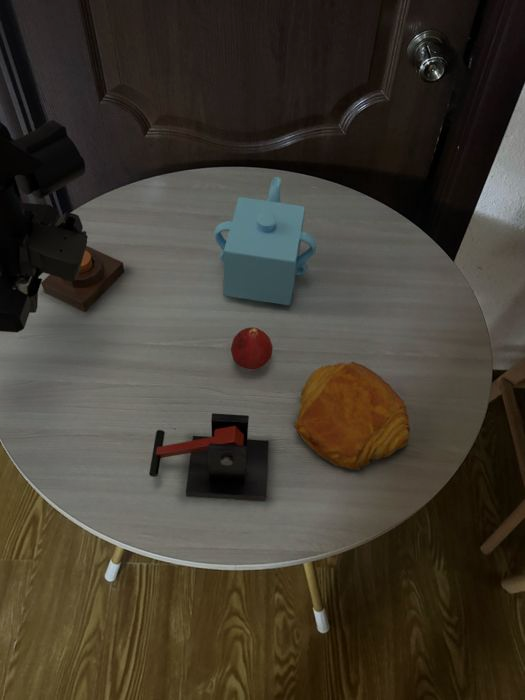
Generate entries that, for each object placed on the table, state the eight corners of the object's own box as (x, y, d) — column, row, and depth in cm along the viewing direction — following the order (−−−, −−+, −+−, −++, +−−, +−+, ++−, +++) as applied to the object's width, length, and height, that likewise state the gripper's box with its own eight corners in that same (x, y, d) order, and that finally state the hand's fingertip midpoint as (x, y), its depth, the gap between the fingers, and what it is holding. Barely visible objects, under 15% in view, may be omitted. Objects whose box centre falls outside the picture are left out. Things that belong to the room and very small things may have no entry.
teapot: (305, 314, 96) (315, 255, 86) (207, 299, 97) (205, 238, 87) (317, 236, 107) (327, 175, 97) (229, 223, 108) (229, 161, 97)
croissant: (342, 371, 93) (346, 333, 87) (424, 435, 84) (435, 398, 78) (270, 423, 86) (269, 385, 80) (351, 497, 78) (356, 461, 72)
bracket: (186, 496, 77) (181, 461, 70) (193, 439, 82) (189, 400, 74) (265, 501, 78) (270, 466, 70) (268, 444, 82) (272, 406, 74)
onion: (236, 383, 88) (237, 350, 81) (226, 352, 91) (226, 317, 85) (275, 376, 89) (279, 342, 83) (264, 345, 92) (267, 310, 86)
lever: (154, 479, 76) (144, 471, 74) (161, 436, 80) (152, 428, 78) (242, 465, 72) (232, 456, 70) (245, 420, 76) (236, 411, 74)
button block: (85, 312, 94) (80, 295, 91) (44, 292, 96) (38, 274, 93) (124, 271, 100) (121, 254, 96) (84, 253, 102) (80, 235, 98)
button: (82, 277, 94) (80, 269, 92) (64, 268, 95) (61, 260, 93) (97, 263, 96) (95, 254, 94) (79, 254, 97) (76, 246, 95)
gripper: (52, 283, 61) (80, 374, 73) (90, 167, 72) (109, 263, 85) (-62, 276, 61) (-15, 368, 73) (-6, 161, 72) (27, 257, 84)
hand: (32, 310), depth 79 cm, fingers closed
